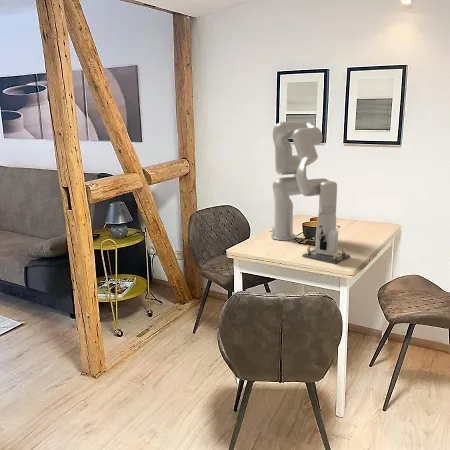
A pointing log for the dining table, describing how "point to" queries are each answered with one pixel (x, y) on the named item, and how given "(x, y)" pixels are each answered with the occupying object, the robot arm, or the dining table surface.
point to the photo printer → (328, 243)
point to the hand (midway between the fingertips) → (326, 247)
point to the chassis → (326, 256)
